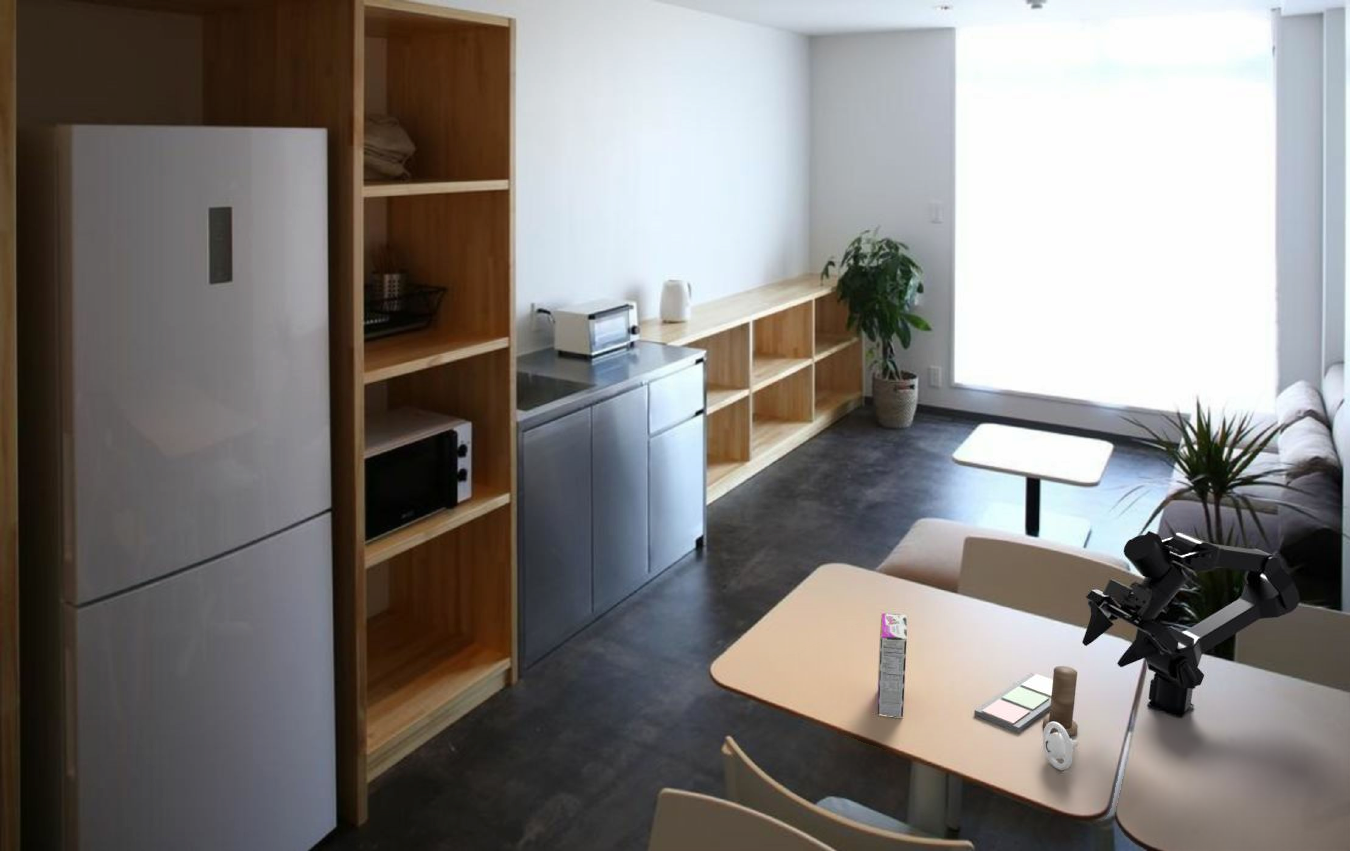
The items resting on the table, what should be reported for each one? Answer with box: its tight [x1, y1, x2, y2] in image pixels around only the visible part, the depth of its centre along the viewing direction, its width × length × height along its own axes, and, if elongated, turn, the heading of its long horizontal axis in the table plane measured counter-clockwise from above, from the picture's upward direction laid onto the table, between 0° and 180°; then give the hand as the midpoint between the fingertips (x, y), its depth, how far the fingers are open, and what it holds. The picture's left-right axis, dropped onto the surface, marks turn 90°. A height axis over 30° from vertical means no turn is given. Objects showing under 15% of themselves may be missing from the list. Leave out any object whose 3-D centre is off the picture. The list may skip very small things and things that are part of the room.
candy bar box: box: [877, 612, 908, 718], centre depth 199 cm, size 11×5×16 cm, turn 168°
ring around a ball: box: [1042, 722, 1079, 771], centre depth 179 cm, size 8×6×8 cm
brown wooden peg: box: [1042, 665, 1079, 738], centre depth 191 cm, size 6×6×12 cm
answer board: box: [973, 672, 1053, 733], centre depth 201 cm, size 9×22×1 cm, turn 135°
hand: (1101, 654), depth 192 cm, fingers open, 9 cm apart
